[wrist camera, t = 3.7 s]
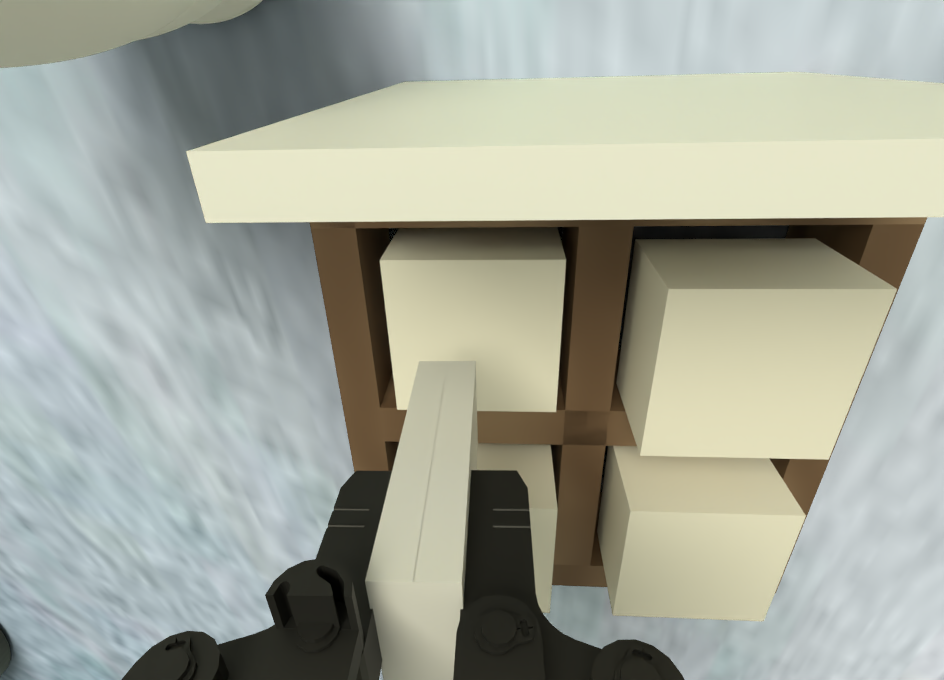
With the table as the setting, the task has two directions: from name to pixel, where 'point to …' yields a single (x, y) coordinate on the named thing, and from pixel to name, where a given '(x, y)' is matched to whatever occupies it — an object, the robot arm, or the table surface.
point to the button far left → (531, 502)
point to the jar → (97, 25)
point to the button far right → (694, 535)
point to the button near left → (478, 310)
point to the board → (581, 355)
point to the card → (591, 152)
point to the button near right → (745, 346)
